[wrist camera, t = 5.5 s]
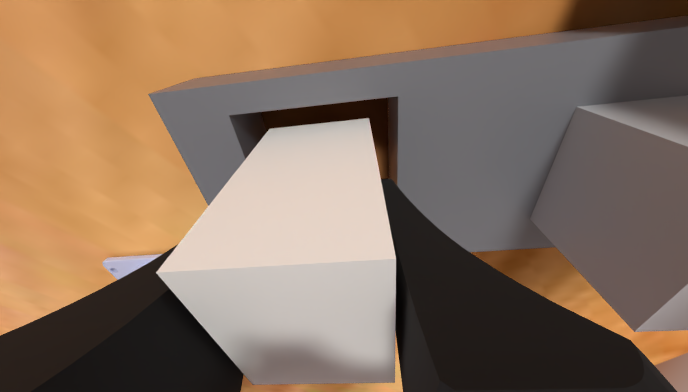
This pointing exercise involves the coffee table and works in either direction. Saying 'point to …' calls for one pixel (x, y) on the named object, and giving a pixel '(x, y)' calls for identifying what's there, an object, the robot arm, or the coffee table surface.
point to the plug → (297, 261)
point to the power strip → (504, 146)
